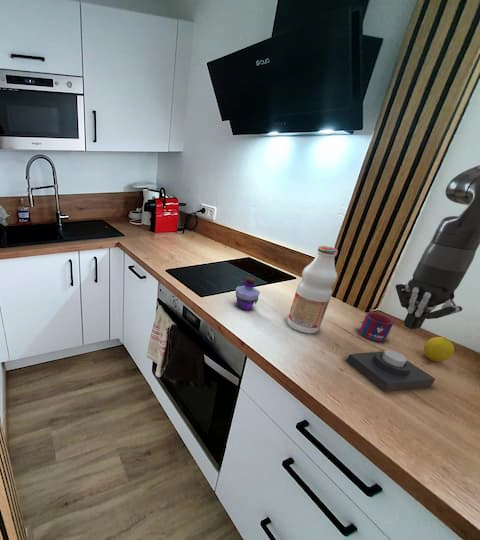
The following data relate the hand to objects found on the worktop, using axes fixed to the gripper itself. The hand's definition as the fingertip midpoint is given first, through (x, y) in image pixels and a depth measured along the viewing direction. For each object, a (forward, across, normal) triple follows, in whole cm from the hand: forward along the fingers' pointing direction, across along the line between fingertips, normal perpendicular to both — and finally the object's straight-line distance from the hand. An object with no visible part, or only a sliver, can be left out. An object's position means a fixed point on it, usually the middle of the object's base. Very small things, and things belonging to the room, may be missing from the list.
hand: (410, 327), depth 71 cm
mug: (+15, +17, -13) cm, 26 cm away
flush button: (+11, 0, 0) cm, 11 cm away
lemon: (+15, +3, -19) cm, 25 cm away
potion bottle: (+15, +37, +20) cm, 45 cm away
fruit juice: (+15, +23, +7) cm, 28 cm away
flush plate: (+15, 0, 0) cm, 15 cm away
